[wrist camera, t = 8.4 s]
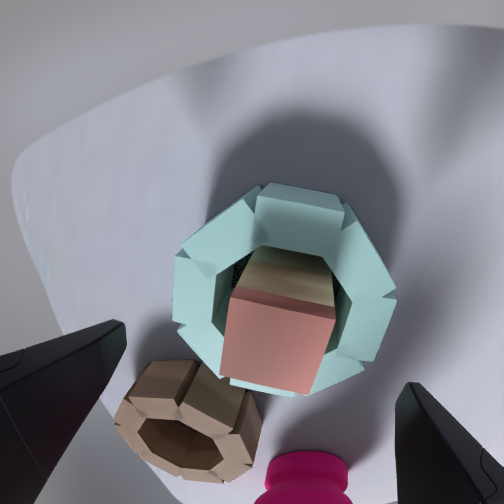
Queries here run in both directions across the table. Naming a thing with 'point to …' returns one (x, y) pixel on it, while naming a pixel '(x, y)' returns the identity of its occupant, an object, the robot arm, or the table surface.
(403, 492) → the robot arm
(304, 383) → the pink two-tone square block
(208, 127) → the table surface
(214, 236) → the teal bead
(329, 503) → the pepper mill
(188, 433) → the brown segmented ring
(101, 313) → the table surface
